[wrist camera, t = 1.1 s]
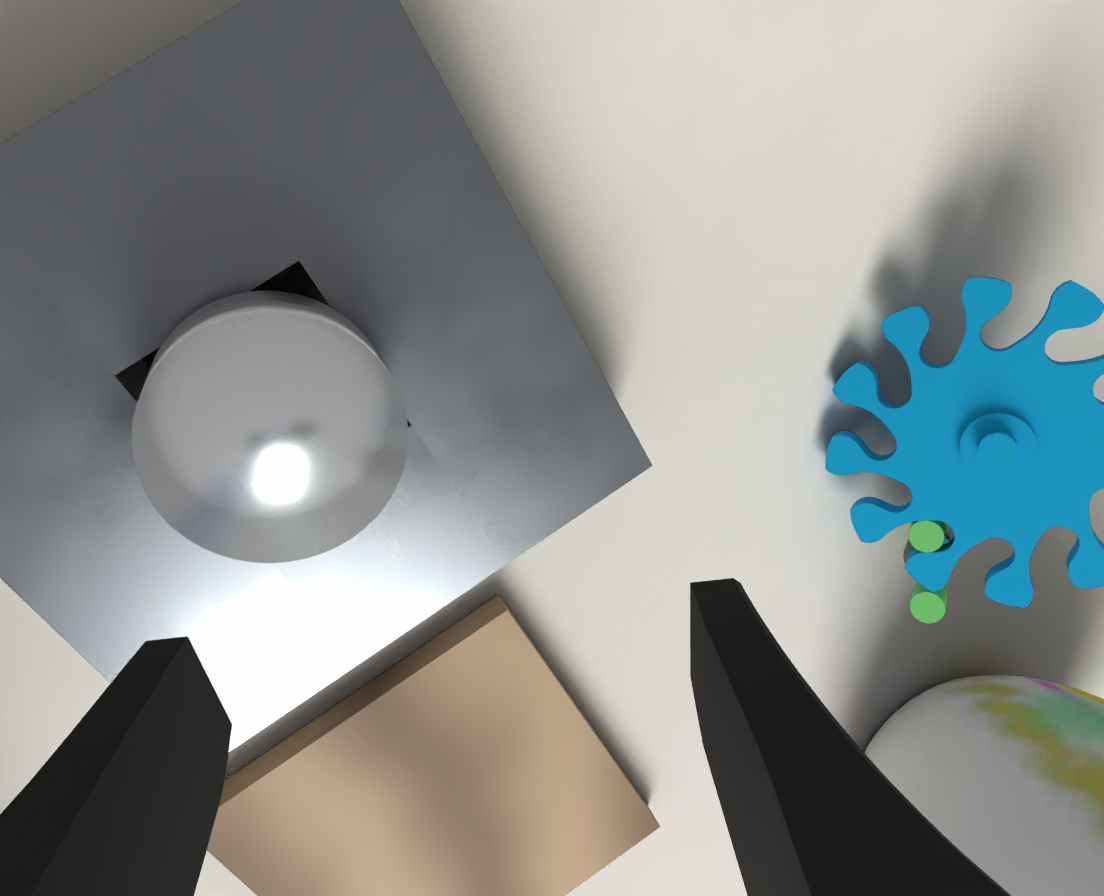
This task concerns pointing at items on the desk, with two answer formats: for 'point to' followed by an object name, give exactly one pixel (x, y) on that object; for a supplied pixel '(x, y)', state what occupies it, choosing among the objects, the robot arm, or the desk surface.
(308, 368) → the end cover
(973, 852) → the decorative egg
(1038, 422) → the gear
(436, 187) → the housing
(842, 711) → the desk surface
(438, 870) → the pad
